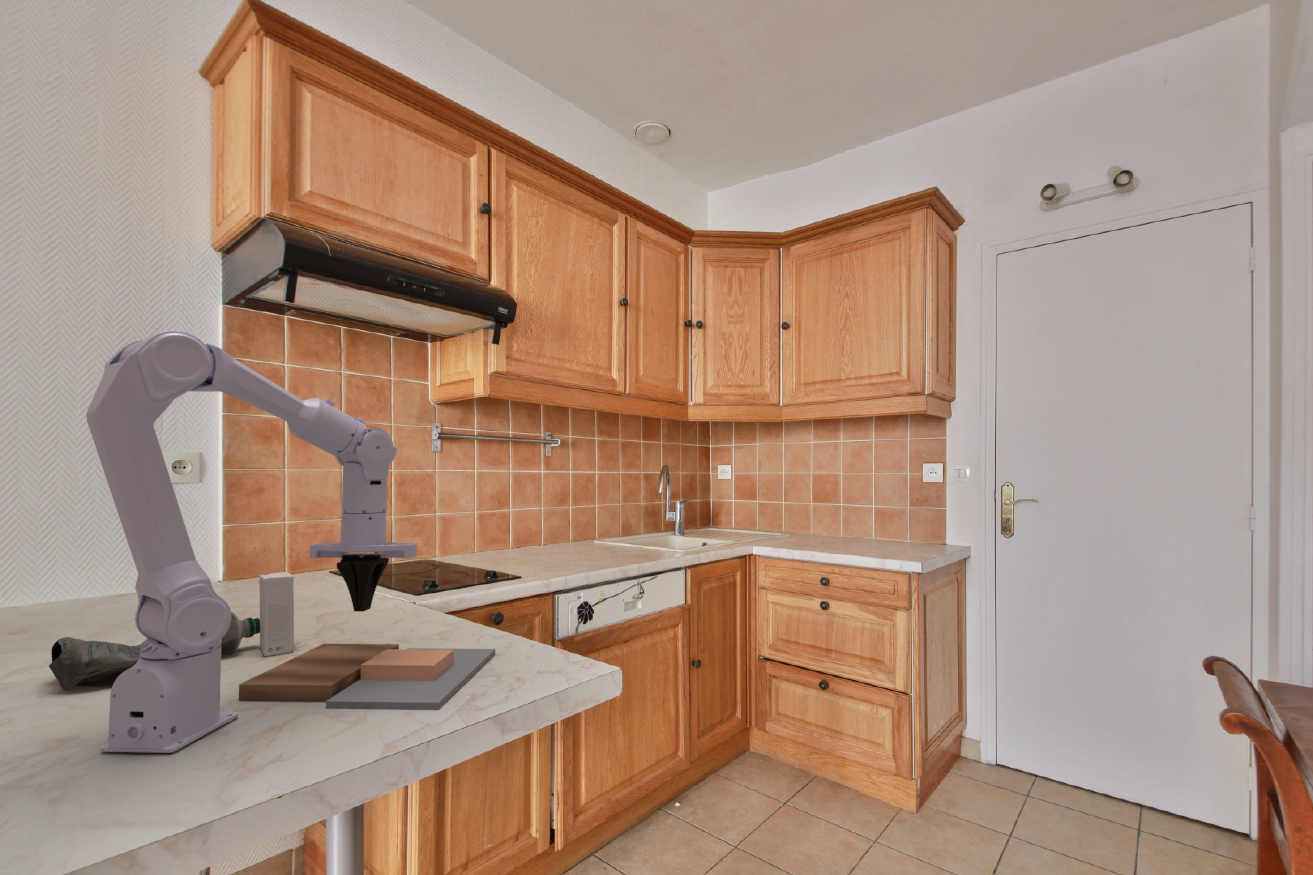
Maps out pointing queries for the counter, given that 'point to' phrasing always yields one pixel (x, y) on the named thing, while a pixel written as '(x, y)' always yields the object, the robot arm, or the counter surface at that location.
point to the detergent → (123, 652)
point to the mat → (414, 686)
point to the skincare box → (276, 613)
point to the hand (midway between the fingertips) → (362, 609)
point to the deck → (312, 674)
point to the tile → (407, 665)
